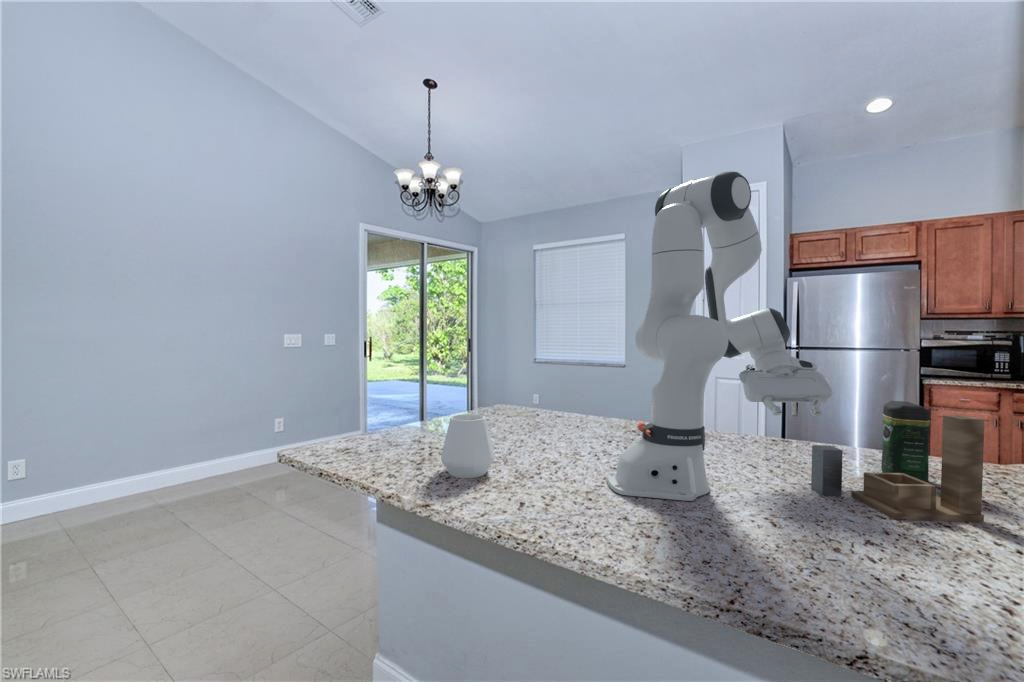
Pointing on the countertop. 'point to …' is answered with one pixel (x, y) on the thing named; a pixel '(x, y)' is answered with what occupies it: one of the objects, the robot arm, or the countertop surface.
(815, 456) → the dark grey square peg
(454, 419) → the cup
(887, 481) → the wooden peg slot stand
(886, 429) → the coffee jar
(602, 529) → the countertop surface
